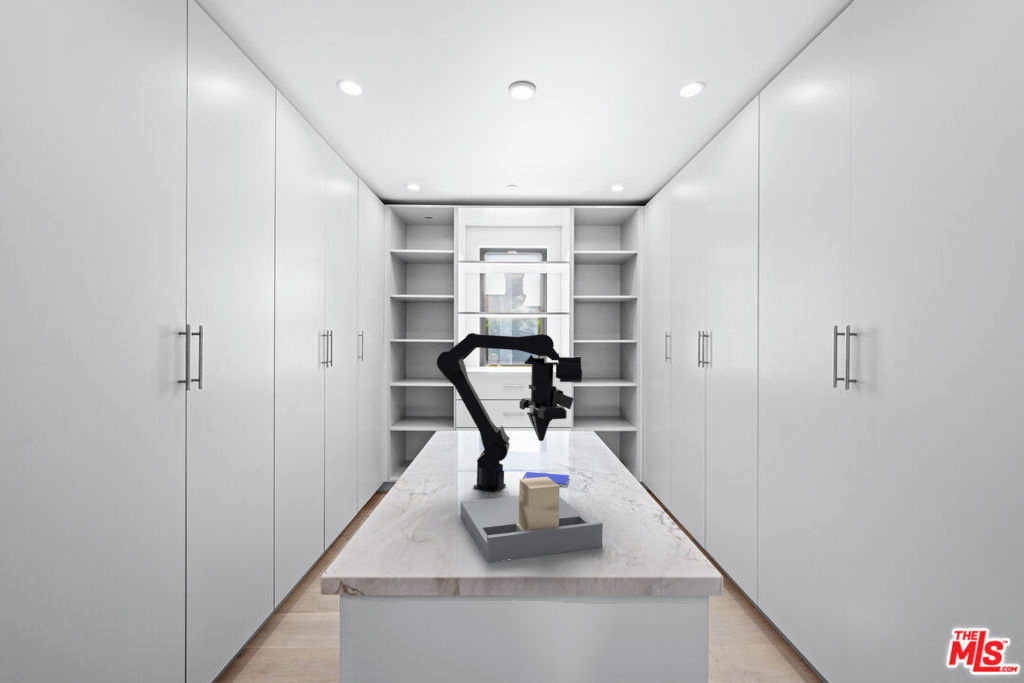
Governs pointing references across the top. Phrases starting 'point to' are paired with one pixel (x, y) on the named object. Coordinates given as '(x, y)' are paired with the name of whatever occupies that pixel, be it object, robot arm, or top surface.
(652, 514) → the top surface
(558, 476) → the hard drive
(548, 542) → the board
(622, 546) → the top surface
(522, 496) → the maple block
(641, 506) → the top surface
